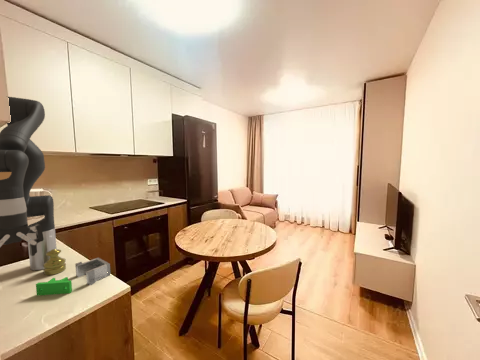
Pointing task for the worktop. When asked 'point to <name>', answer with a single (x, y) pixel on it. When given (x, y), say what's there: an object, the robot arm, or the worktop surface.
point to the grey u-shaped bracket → (93, 270)
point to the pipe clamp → (54, 287)
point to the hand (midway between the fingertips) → (14, 260)
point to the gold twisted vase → (54, 263)
